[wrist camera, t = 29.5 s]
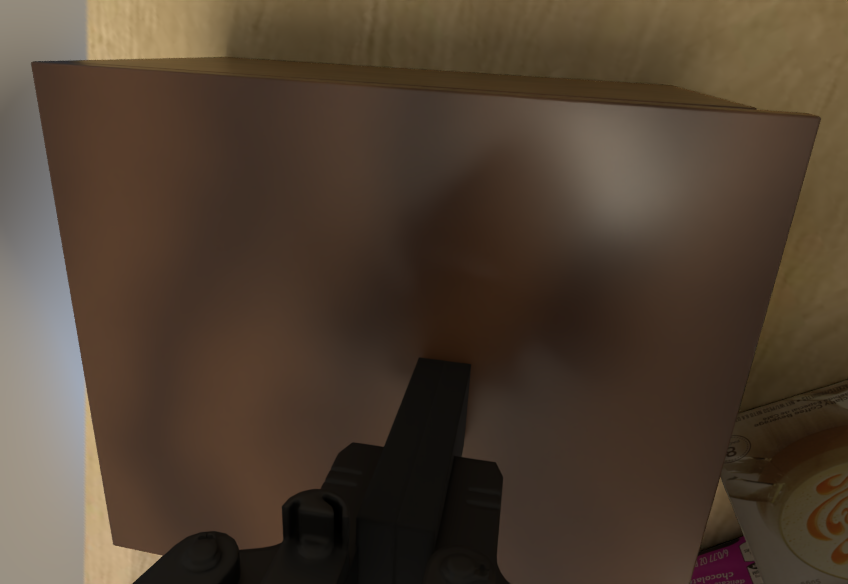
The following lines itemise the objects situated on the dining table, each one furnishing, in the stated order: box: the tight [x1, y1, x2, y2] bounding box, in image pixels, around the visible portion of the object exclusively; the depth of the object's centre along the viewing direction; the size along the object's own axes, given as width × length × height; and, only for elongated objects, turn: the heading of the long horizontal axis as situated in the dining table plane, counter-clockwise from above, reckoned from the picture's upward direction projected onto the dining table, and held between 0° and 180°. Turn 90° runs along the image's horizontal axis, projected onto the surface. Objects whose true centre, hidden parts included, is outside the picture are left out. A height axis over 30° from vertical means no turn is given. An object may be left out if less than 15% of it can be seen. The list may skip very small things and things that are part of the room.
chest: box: [59, 57, 757, 110], centre depth 24 cm, size 19×17×10 cm
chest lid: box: [31, 61, 821, 584], centre depth 19 cm, size 20×17×1 cm
